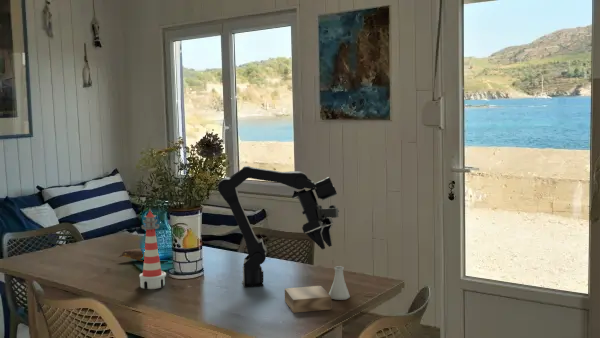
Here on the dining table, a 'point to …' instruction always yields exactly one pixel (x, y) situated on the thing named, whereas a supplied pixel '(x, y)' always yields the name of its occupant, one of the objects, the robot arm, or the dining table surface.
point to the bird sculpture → (133, 254)
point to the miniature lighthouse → (151, 257)
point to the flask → (339, 285)
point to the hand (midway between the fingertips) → (327, 247)
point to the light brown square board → (307, 299)
